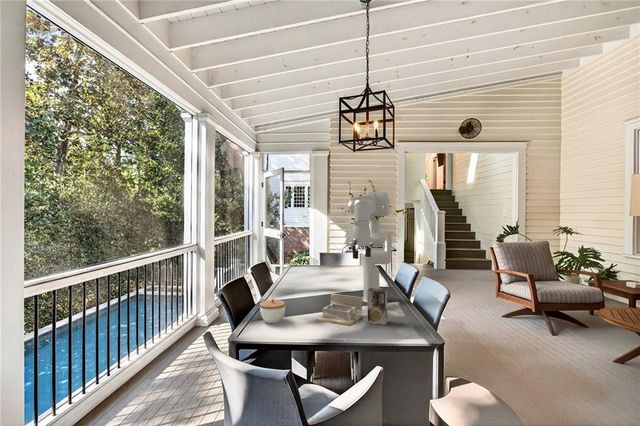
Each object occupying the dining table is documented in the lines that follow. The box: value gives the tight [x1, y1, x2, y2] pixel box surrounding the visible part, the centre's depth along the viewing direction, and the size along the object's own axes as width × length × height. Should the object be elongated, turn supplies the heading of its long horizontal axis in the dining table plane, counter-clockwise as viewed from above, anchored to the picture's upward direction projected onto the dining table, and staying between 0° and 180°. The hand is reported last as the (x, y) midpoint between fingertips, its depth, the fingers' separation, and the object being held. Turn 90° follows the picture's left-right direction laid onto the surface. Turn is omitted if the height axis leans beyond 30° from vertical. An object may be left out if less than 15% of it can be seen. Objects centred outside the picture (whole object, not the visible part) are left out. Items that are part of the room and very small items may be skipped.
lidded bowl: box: [259, 298, 286, 324], centre depth 180 cm, size 13×13×11 cm
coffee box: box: [366, 287, 388, 326], centre depth 177 cm, size 9×6×16 cm
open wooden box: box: [315, 293, 363, 327], centre depth 184 cm, size 16×18×10 cm
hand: (361, 257), depth 183 cm, fingers open, 9 cm apart
